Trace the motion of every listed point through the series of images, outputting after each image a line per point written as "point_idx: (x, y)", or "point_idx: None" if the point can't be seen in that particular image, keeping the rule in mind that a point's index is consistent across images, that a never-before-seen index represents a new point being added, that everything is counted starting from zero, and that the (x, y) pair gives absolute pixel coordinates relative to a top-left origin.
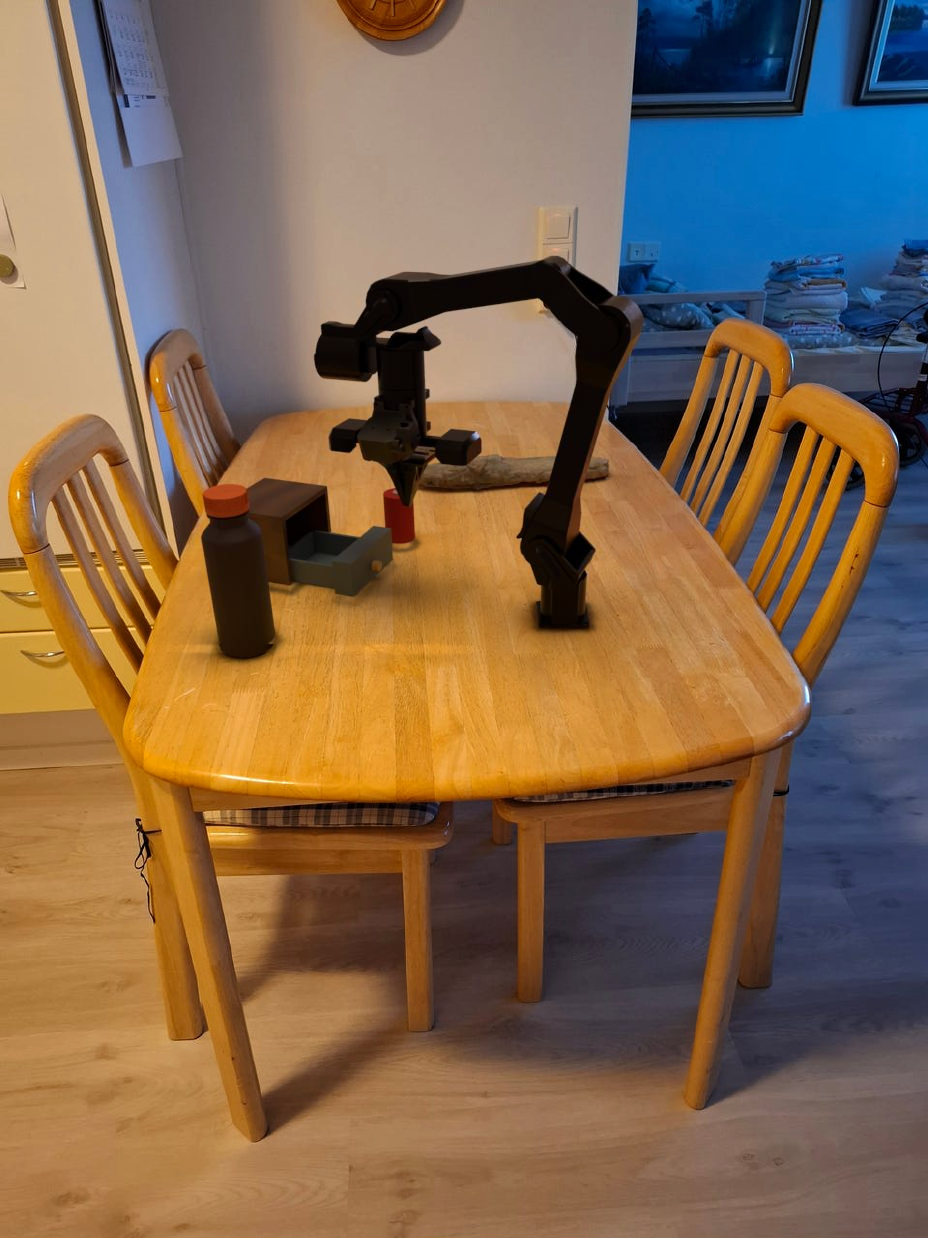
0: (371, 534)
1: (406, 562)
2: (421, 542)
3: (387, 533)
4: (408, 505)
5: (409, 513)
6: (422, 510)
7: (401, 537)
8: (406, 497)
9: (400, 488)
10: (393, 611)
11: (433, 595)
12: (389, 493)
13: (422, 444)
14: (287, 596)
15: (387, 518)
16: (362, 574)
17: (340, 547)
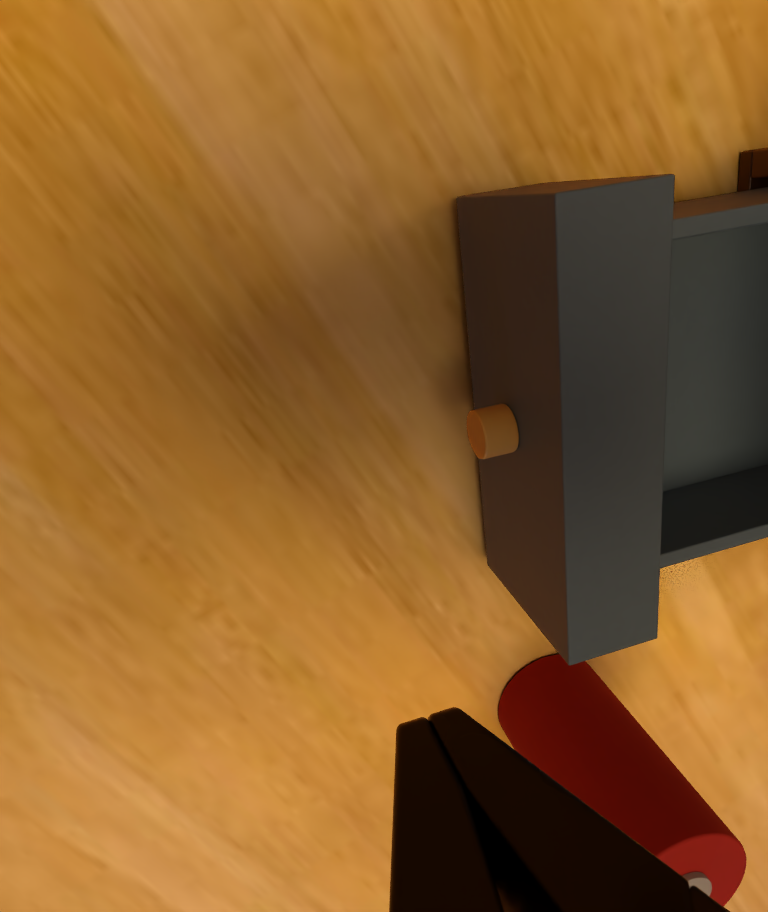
0: (623, 562)
1: (457, 613)
2: None
3: (562, 622)
4: (400, 731)
5: None
6: None
7: (546, 707)
8: (440, 792)
9: (553, 860)
10: (253, 231)
11: (189, 457)
12: (717, 864)
13: None
14: (740, 118)
15: (642, 744)
16: (503, 313)
17: (716, 500)
